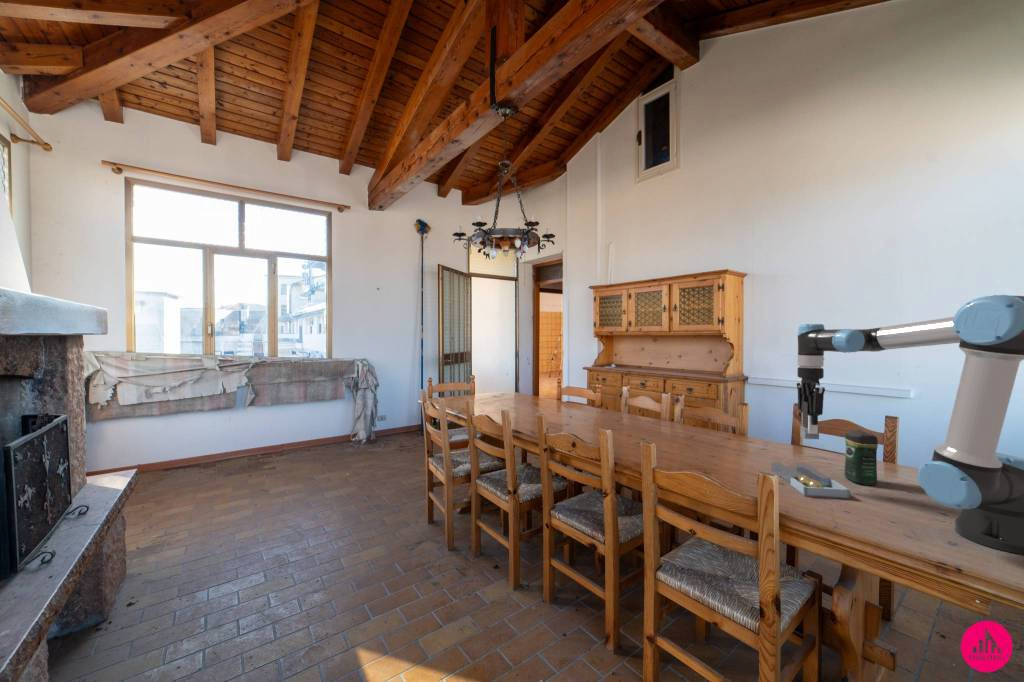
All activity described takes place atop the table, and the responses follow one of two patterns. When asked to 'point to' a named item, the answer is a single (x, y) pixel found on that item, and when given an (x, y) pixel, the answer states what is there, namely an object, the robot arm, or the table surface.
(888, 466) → the table surface
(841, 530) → the table surface
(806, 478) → the brass round knob
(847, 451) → the coffee jar
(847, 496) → the tray
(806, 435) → the stepped gray block
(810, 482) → the gold dome knob
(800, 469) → the slot board
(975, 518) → the robot arm
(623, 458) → the table surface
